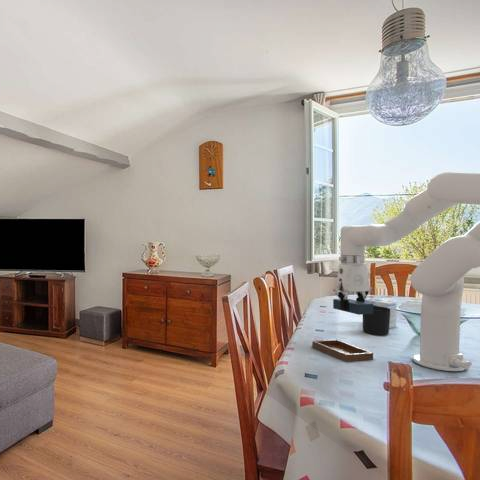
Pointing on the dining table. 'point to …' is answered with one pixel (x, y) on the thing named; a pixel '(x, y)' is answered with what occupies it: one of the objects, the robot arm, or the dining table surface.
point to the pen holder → (377, 321)
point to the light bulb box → (387, 304)
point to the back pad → (355, 306)
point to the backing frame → (342, 350)
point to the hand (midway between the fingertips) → (352, 309)
